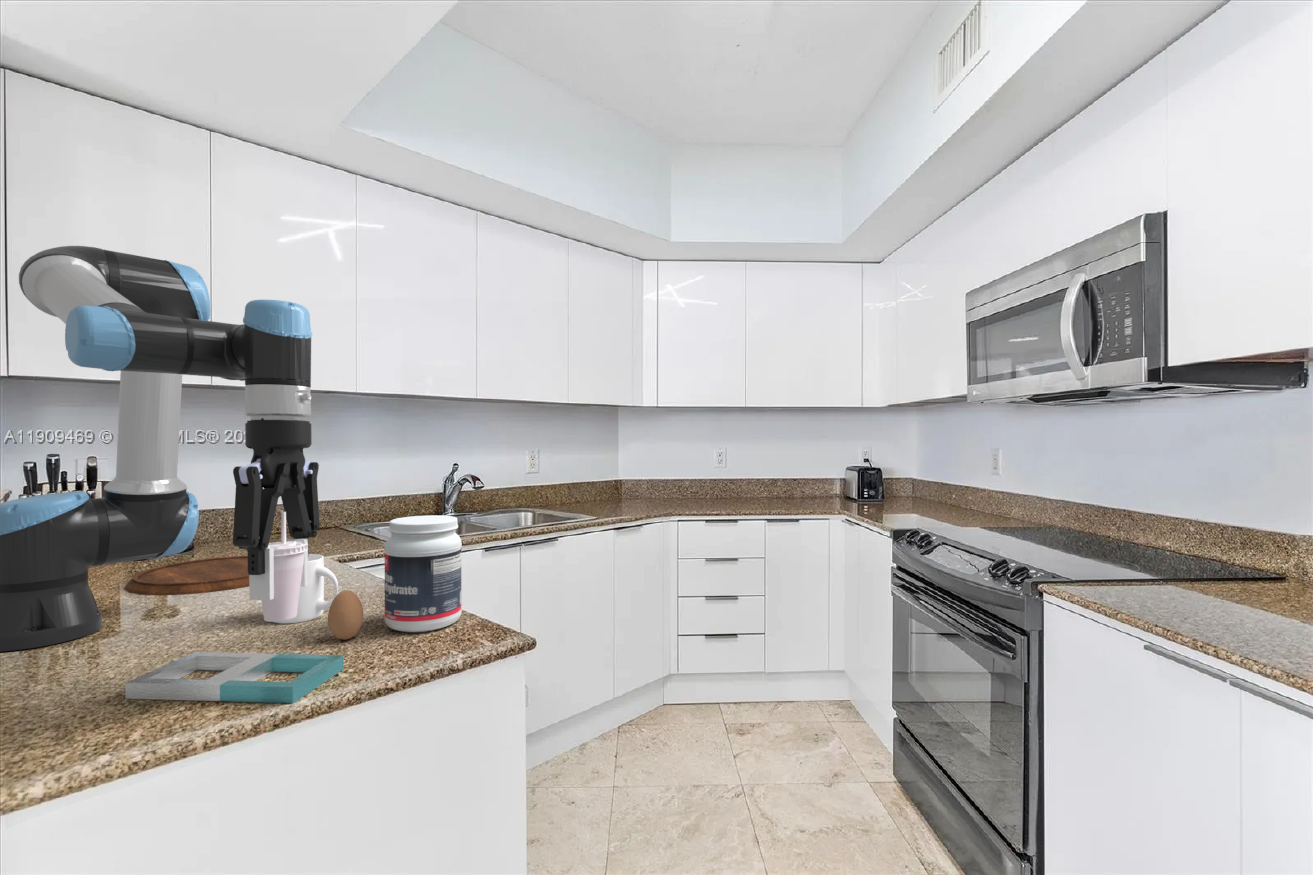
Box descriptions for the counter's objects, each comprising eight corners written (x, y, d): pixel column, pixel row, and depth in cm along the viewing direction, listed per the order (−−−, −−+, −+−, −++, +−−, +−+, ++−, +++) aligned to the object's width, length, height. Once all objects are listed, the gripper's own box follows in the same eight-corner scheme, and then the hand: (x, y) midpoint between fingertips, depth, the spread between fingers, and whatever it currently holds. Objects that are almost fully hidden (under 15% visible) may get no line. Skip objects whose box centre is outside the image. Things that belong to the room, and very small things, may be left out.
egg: (349, 632, 103) (349, 585, 103) (370, 636, 101) (370, 588, 101) (320, 641, 99) (320, 592, 99) (341, 646, 96) (341, 596, 96)
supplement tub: (367, 628, 105) (367, 521, 105) (425, 609, 117) (424, 513, 117) (422, 639, 100) (422, 526, 100) (477, 618, 111) (477, 517, 111)
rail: (125, 698, 77) (125, 682, 77) (196, 665, 88) (196, 651, 88) (292, 703, 76) (292, 687, 76) (343, 669, 87) (343, 655, 87)
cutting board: (262, 559, 166) (262, 550, 166) (319, 575, 147) (319, 564, 147) (106, 582, 140) (106, 571, 140) (152, 605, 121) (152, 592, 121)
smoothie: (319, 613, 84) (318, 510, 84) (276, 627, 78) (275, 516, 78) (284, 608, 86) (283, 508, 86) (239, 622, 80) (239, 514, 80)
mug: (323, 625, 107) (323, 564, 107) (257, 624, 108) (257, 563, 108) (351, 611, 116) (350, 554, 116) (290, 610, 117) (289, 553, 116)
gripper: (254, 416, 72) (255, 613, 72) (347, 420, 91) (348, 576, 91) (193, 417, 72) (194, 612, 72) (298, 420, 92) (299, 575, 92)
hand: (280, 591), depth 82 cm, fingers closed on smoothie, 6 cm apart
